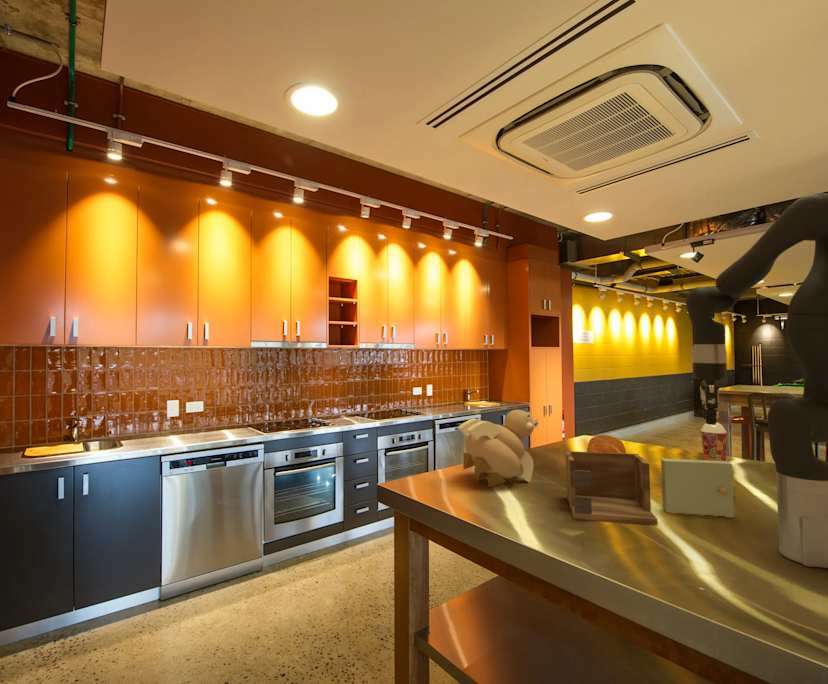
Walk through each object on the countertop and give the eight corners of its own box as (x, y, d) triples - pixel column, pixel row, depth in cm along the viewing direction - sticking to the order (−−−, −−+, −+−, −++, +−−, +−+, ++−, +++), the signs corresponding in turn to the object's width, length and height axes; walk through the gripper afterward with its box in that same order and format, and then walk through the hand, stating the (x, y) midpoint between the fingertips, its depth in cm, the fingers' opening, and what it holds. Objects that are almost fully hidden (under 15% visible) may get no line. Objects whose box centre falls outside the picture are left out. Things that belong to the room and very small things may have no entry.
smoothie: (727, 465, 164) (725, 413, 165) (729, 470, 157) (727, 416, 158) (701, 463, 169) (699, 412, 170) (702, 467, 162) (700, 415, 163)
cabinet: (657, 525, 107) (655, 469, 108) (573, 518, 112) (572, 465, 113) (638, 502, 124) (637, 453, 125) (566, 497, 129) (565, 451, 130)
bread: (582, 492, 135) (581, 442, 135) (586, 471, 159) (585, 429, 159) (632, 497, 129) (630, 446, 129) (628, 475, 153) (627, 432, 154)
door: (736, 519, 111) (734, 465, 111) (667, 514, 114) (666, 462, 115) (728, 513, 115) (726, 461, 115) (662, 509, 119) (661, 458, 119)
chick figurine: (511, 386, 137) (476, 383, 158) (460, 458, 129) (430, 444, 150) (568, 443, 144) (527, 433, 165) (524, 514, 136) (487, 494, 157)
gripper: (730, 362, 106) (730, 427, 106) (723, 360, 118) (723, 419, 118) (694, 362, 110) (694, 424, 110) (691, 360, 122) (691, 416, 122)
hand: (709, 421), depth 114 cm, fingers open, 8 cm apart
